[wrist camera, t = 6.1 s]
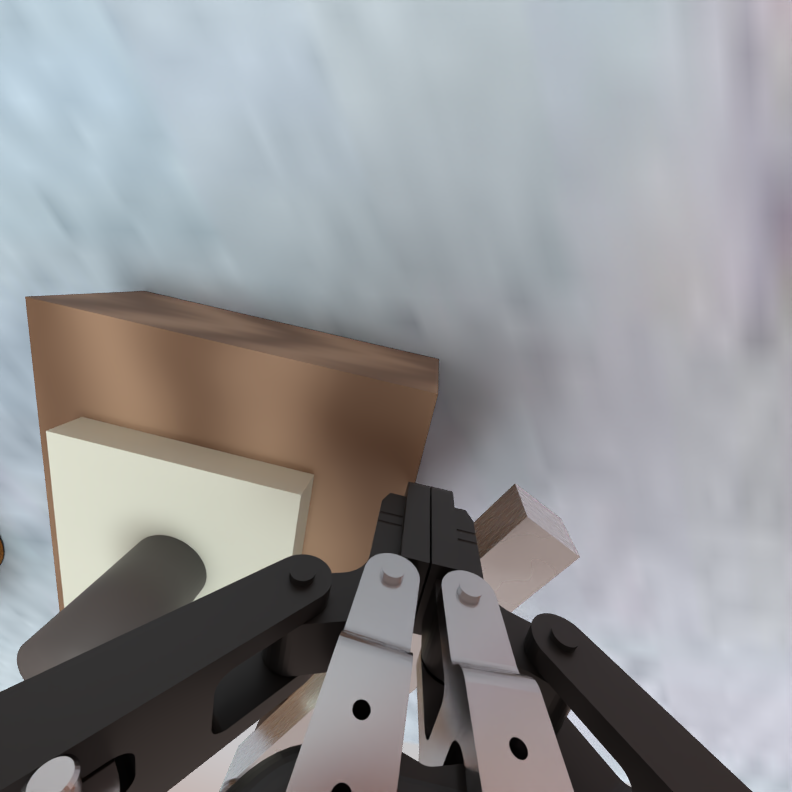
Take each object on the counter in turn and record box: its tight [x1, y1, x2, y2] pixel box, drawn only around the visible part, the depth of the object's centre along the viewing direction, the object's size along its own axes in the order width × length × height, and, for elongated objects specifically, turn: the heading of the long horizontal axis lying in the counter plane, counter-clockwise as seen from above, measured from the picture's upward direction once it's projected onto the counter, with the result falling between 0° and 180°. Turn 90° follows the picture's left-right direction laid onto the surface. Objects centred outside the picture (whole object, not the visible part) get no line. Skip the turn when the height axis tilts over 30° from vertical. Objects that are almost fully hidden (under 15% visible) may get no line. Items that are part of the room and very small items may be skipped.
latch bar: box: [219, 484, 580, 792], centre depth 14 cm, size 2×19×2 cm, turn 143°
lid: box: [17, 417, 314, 681], centre depth 14 cm, size 10×10×6 cm
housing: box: [25, 291, 439, 730], centre depth 19 cm, size 16×20×8 cm
